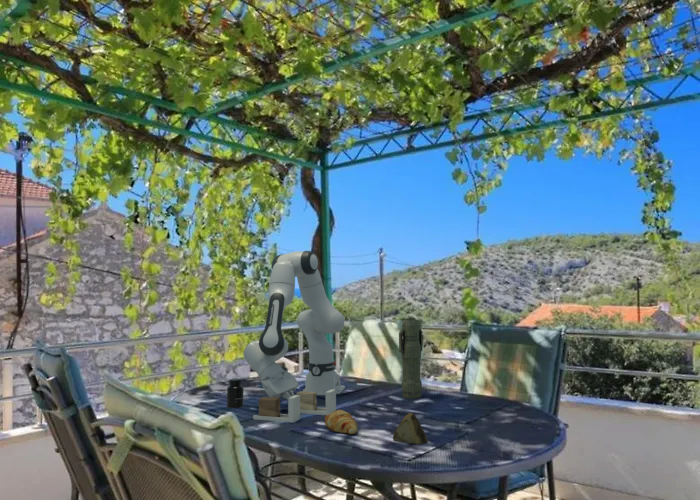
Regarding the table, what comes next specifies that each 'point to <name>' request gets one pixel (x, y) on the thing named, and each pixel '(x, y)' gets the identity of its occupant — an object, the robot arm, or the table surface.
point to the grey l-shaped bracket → (292, 412)
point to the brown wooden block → (269, 407)
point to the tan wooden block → (307, 400)
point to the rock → (410, 431)
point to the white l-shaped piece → (330, 405)
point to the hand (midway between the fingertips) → (294, 401)
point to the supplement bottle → (235, 394)
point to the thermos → (411, 358)
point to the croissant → (341, 422)
